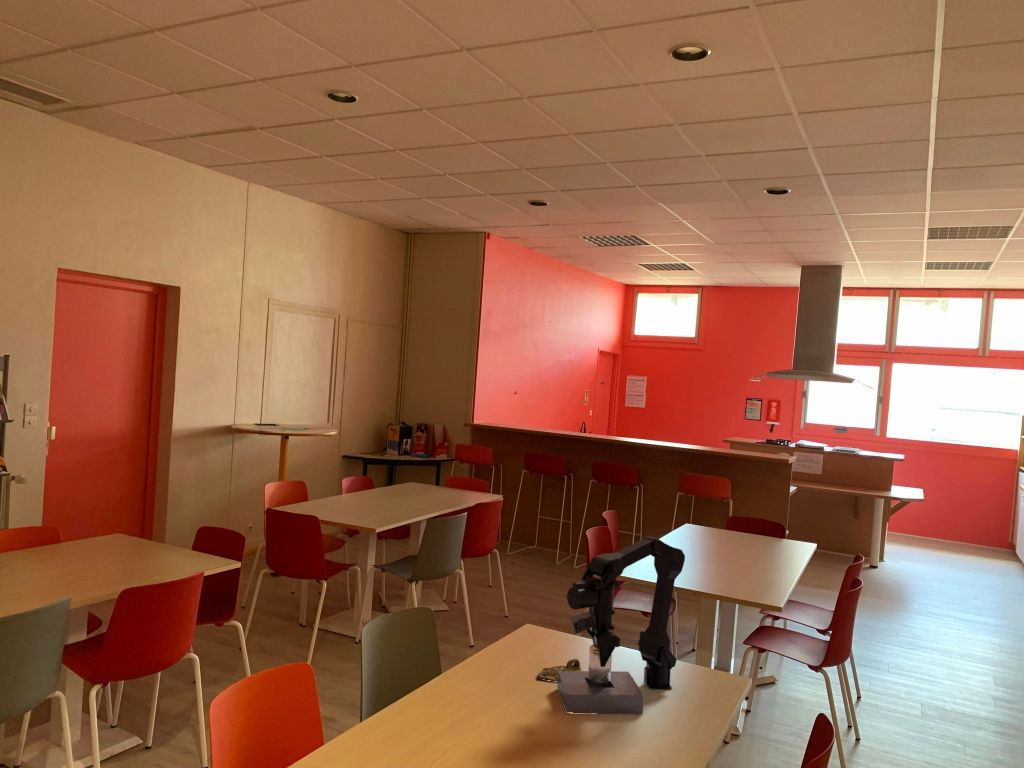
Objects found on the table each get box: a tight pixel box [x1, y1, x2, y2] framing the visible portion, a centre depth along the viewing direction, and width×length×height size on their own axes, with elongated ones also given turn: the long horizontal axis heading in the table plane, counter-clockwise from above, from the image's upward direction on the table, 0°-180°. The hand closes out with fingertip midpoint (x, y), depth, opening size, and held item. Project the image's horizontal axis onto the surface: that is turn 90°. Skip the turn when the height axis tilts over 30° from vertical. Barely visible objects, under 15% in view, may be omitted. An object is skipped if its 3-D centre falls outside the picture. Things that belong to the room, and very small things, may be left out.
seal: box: [536, 658, 582, 681], centre depth 219 cm, size 9×5×15 cm
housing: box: [556, 670, 644, 715], centre depth 202 cm, size 20×16×5 cm
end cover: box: [588, 644, 613, 683], centre depth 202 cm, size 6×6×8 cm
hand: (600, 662), depth 202 cm, fingers closed on end cover, 6 cm apart
